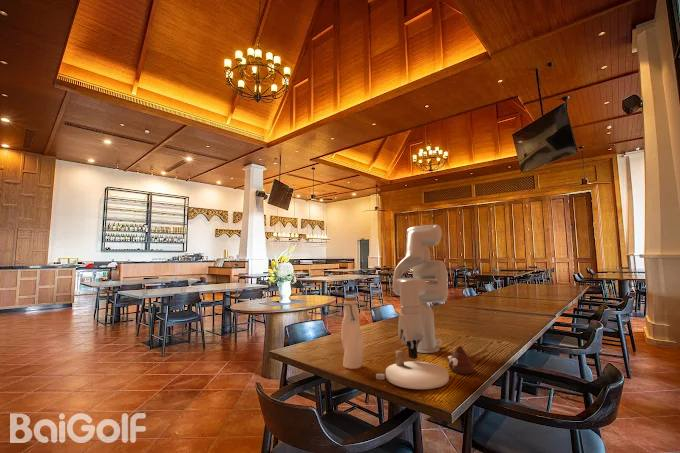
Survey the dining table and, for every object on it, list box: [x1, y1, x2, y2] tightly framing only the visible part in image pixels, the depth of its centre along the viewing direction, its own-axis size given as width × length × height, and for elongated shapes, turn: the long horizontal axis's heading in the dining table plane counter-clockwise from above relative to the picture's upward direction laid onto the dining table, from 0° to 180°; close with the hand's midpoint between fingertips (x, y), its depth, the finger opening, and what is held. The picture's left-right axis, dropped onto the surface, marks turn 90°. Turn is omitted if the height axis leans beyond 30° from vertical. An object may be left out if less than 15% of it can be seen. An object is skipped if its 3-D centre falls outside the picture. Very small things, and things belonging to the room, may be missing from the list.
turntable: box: [385, 350, 450, 390], centre depth 114 cm, size 22×22×7 cm
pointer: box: [375, 373, 386, 380], centre depth 116 cm, size 3×1×2 cm, turn 82°
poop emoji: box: [446, 345, 475, 376], centre depth 121 cm, size 10×8×9 cm
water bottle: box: [340, 295, 364, 370], centre depth 132 cm, size 10×9×28 cm
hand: (413, 357), depth 125 cm, fingers closed
